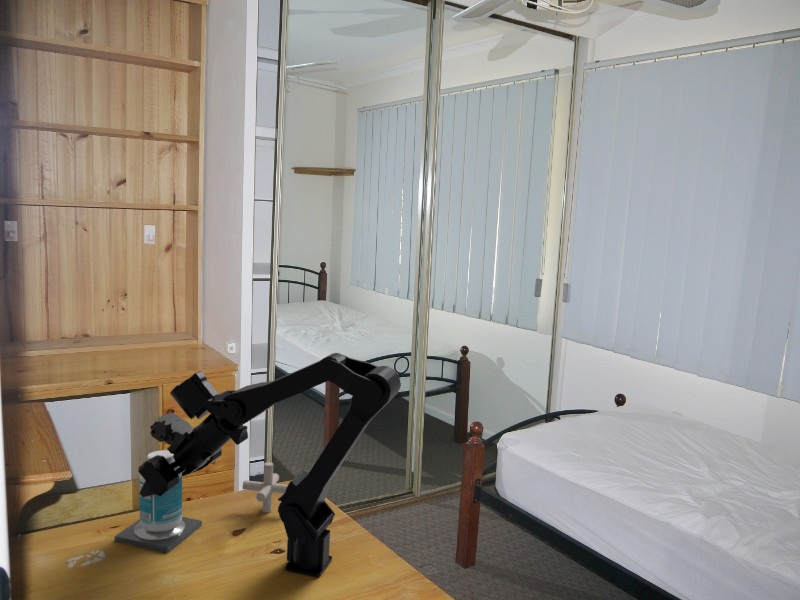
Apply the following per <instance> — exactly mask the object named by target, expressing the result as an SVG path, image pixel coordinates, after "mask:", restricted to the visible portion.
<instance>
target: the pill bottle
mask: <svg viewBox="0 0 800 600" xmlns="http://www.w3.org/2000/svg"><path fill="white" fill-rule="evenodd" d="M156 455H160V456H164V457H165V459H166V460H167V461H168V462H169V464H171V463H173V462H174V461H175V460H174V458H173V455H174V454H171V453H170V452H169V451H168V450H155V451H151V452H150V453H148V454H147V456H146V459H147V460H149V459H151V458H153V457H155V456H156ZM147 460H146V461H147ZM179 467H180V466H179ZM179 467H178V468H179ZM178 468H176V469H178ZM176 469H174V470H176ZM138 477H139V481H138V483H139V491H140V490H141V488H142V487H143V485H144V483H145V479H144V478H143V477H142V475H141V474H140V473H139V476H138ZM182 517H183V476H182V473H180V474H179V483H178V484H177V485H176V486H175V487H174V488H173V489H171V490H170V491H168V492H167V493H165V494H164V495H162V496H158V495H156V494H155V495H151V496H147V497H142V496H141V495H140V494H139V519H140V525H141V527H142V528H143V529H145V530H147V531H151V532H162V531H167V530H170V529H173V528H175V527H177V526H178V525H179V524H180V523H181V521H182Z"/></svg>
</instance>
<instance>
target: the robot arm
mask: <svg viewBox="0 0 800 600" xmlns="http://www.w3.org/2000/svg"><path fill="white" fill-rule="evenodd" d="M326 382H331V384H332V383H333V385H335V386H337V387H338V388H339V389H340V390H342V391H343V392H345V393H346V394H347V395H349V396H351V399H350V403H349V407H348V411H347V413H346V415H345V416H344V418H343V420H342V421H341V423H340V424H339V426H338V427H337V429H336V430H335V432H334V433H333V435H332V436H331V438H330V439H329V441H328V443H327V445H326V446H325V447H324V449H323V451H322V452H321V453H320V455H319V457H318V458H317V459H316V461H315V462H314V464H313V466H312V468H311V469H310V471H309V472H307V471H306V470H305V469H302V470H301V471H300V472H299V473H298V474H297V475H296V476H295V477H294V478H292V479H291V480H290V481H289V483H288V484H287V485H288V486H287V489H286V491H285V493H284V494H281V495H280V497H279V498H278V499H277V501H278V502H280V503H279V505H278V507H277V513H278V515H279V519H280V521H281V522H282V523H283V526H284V530H285V533H286V537H287V541H286V561H287V563H286V564H285V566H284V570H286V571H290V572H293V573H298V574H303V575H308V576H313V577H317V578H318V577H320V576H322V574H323V573H324V571H325V570H326V568H327V567H328V566H329V565H330V563H331V562H332V560H333V556H332V555H330V547H331V546H330V540H331V539H330V538H331V530H330V529H327V528H328V527H329V526H330V525H331V524H332V522H333V520H334V518H335V516H336V513H335V512H334V510H333V509H332V508H331V507H330V505H329V504H328V503H327V502H326V500H325V499H326V497H327V495H328V492H329V488H330V484H331V481H332V479H333V478H334V477H335V475H336V474H337V473H338V470H339V469H340V468H341V465H342V464H343V463H344V461H346V458H347V457H348V455H349V454H350V453H351V451H352V449H353V447H354V446H355V445H356V443H357V442H358V441H359V439H360V437H361V435H362V434H363V433H364V431H365V430H366V428H367V426H368V425H369V424H370V422H371V421H372V420H373V418H375V417H376V416H377V414H379V412H381V410H382V409H383V408H384V407H386V406H387V405H388V404H389V403H390V401H392V399H394V398H395V396H396V395H397V394H398V393H399V392H400V390H401V385H402V382H401V378H400V376H399V374H398V372H397V371H396V370H395V369H394V368H393V367H390V366H387V365H381V366H378V365H376V364H373V363H371V362H368V361H364V360H360V359H355V358H351V357H349V356H346V355H345V354H342V353H339V352H334V353H331V354H328V355H327V356H325V357H323V358H322V359H320V360H318V361H316V362H314V363H311V364H309V365H307V366H305V367H302V368H299V369H297V370H295V371H293V372H291V373H289V374H286V375H284V376H282V377H279V378H277V379H274V380H270V381H264V382H258V383H252V384H249V385H248V384H247V385H245V386H243V387H241V388H239V389H236V390H226V391H223V392H221V393H219V392H218V391H217V390H216V389H215V388H214V386H213V385H212V384H211V383H210V381H209V380H208V379H207V376H206V375H205V373H203V371H201V370H199V371H197V372H195V373H193V374H192V375H191V376H190V377H188V378H186V379H185V380H184V381H183V382H181V383H179V384H177V385H175V387H174V388H173V389H172V390H171V391H170V393H169V394H170V395H171V398H173V399H174V401H175V402H176V403H177V405H178V406H179V408H181V410H182V411H183V413H185V415H186V416H187V417H188V418H189V419H190V420H193V419H194V418H196V419H197V420H200V419H202V418H203V417H205V416H206V415H207V414H208V415H207V417H206V418H205V419H203V420H202V421H201V422H200V423H199V424H198V425H196V426H195V427H193V426H192V425H191V424H190V423H189V422H188V421H186V420H185V419H184V418H182V417H180V416H179V415H178V414H176V413H174V412H167V413H166V414H163V415H162V416H160V417H158V418H157V420H155V421H154V423H153V424H152V425H150V430H151V431H150V436H151V437H152V438H153V439H155V440H157V441H158V442H160V443H163V442H164V443H166V445H168V447H167V448H166V450H167V451H169V452H170V453H171V454H174V455H173V458H174V462H173V463H171V464H169V462H168V461H167V460H166V459H165V457H164V456H160V455H156V456H155V457H153V458H151V459H149V460H145V461H144V462H143V463H142V464H141V465H140V466H139V467H138V471H137V472H138V473H139V475H140V474H141V475H142V477H143V478H144V479H145V483H144V485H143V487H142V488H141V490H140V489H139V496H140V495H141V496H142V497H147V496H151V495H155V494H156V495H158V496H162V495H164V494H165V493H167V492H168V491H170V490H171V489H173V488H174V487H175V486H176V485H177V484H178V483H179V474H180V473H182V477H185V476H187V475H190V474H193V473H196V472H198V471H201V470H203V469H205V468H206V467H208V466H210V464H213V462H215V461H216V460H218V459H219V458H220V457H222V454H223V453H222V452H223V451H222V450H223V448H222V447H223V446H224V445H226V444H227V443H228V442H229V441H230V440H232V441H233V443H234V444H235V445H237V446H238V445H240V444H241V443H243V442H244V441H246V440H247V439H248V438H249V434H248V427H249V426H247V425H245V424H246V423H248V422H249V421H251V420H253V419H255V418H257V417H258V416H260V415H261V414H263V413H264V412H266V411H267V410H269V409H271V408H272V407H274V405H276V404H277V403H280V402H282V401H284V400H286V399H289V398H292V397H294V396H296V395H299V394H301V393H303V392H305V391H308V390H310V389H313V388H315V387H317V386H320V385H321V384H324V383H326ZM209 413H210V414H209ZM179 466H180V467H179ZM178 467H179V468H178ZM176 468H178V469H176ZM174 469H176V470H174Z"/></svg>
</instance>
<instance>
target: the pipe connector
mask: <svg viewBox="0 0 800 600" xmlns="http://www.w3.org/2000/svg"><path fill="white" fill-rule="evenodd" d="M263 464H264V465H263V481H255V480H254V481H252V480H243V483H242V490H244V491H253V492H257V494H256V496H255V498H256V500H257V501H258V502H260V503H261V502H262V510H261V511H262V512H263V513H266V514H267V513H271V512H272V508H273V507H272V505H273V504H272V503H273V494H274V493H275V494H280V495H283V494H284V493H285V491H286V489H287V486H288V484H285V483H284V484H283V483H277V482H279V480H280V475H279V474H278V473H275V472H274V463H273V462H271V461H268V462H267V461H266V462H264V463H263Z"/></svg>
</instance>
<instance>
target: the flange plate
mask: <svg viewBox="0 0 800 600" xmlns="http://www.w3.org/2000/svg"><path fill="white" fill-rule="evenodd" d="M202 526H203V520H200V519H195V518H191V517H185V516H182V521H181V523H180V524H179V525H178V526H177V527H175V528H173V529H170V530H167V531H162V532H151V531H147V530H145V529H143V528H142V527H141V525H140V518H139V519H138V520H136V521H135V522H133V523H132V524H130V525H129V526H127V527H126V528H125V529H123V530H122V531H120V532H118V533H117V534H116V535H114V542H116V543H121V544H125V545H129V546H134V547H139V548H143V549H149V550H152V551H157V552H161V553H167V554H169V553H170V552H171V551H172V550H174V549H175V548H177V546H179V544H181V543H182V542H184V541H185V540H186V539H187V538H188V537H189V536H191V535H192V534H193V533H194V532H196V531H198V529H200V528H201V527H202Z"/></svg>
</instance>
